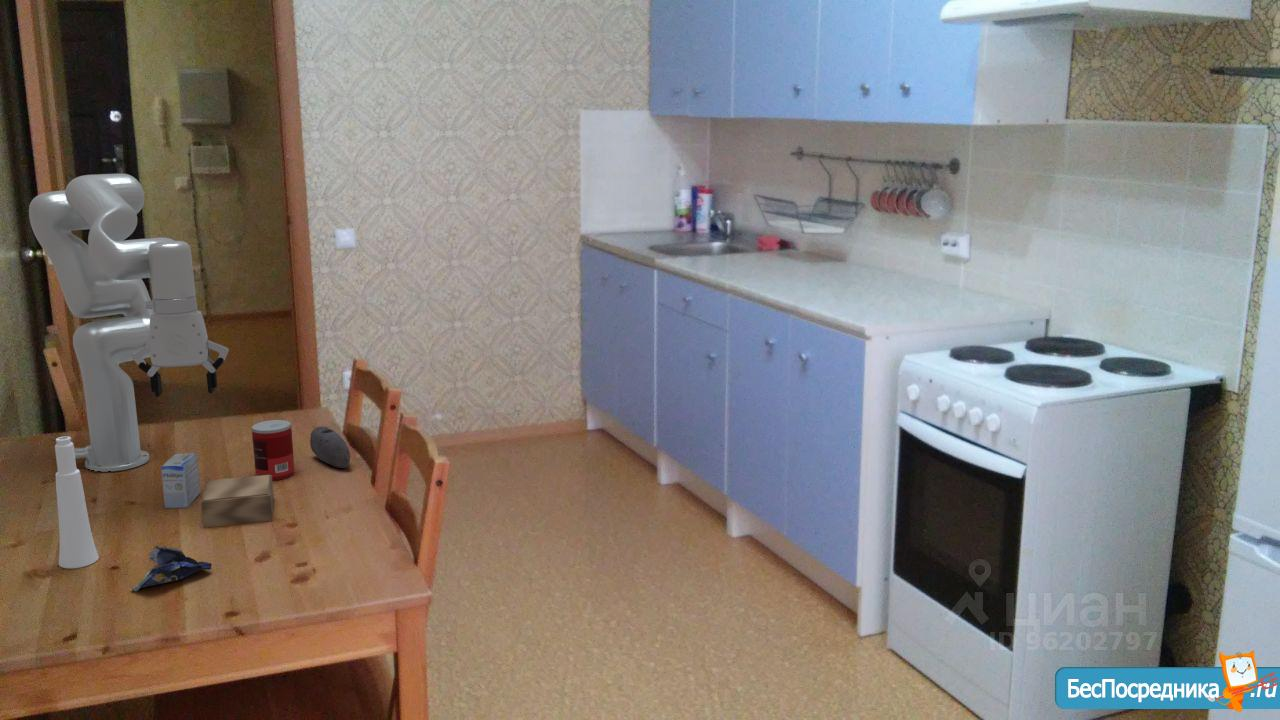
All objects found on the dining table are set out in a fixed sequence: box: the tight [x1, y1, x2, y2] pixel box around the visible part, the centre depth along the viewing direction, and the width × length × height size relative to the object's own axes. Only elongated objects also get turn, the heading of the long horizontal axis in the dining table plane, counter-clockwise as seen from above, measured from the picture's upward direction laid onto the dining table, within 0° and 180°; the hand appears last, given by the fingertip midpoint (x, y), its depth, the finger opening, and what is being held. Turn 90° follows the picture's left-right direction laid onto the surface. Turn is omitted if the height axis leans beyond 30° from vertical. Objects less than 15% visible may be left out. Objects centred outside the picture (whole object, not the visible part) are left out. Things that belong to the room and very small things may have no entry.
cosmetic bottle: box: [54, 436, 99, 570], centre depth 178 cm, size 6×6×22 cm
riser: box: [200, 475, 275, 529], centre depth 202 cm, size 12×12×5 cm
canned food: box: [251, 419, 295, 482], centre depth 223 cm, size 8×8×11 cm
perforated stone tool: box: [309, 426, 351, 469], centre depth 231 cm, size 15×5×7 cm, turn 37°
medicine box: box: [160, 453, 201, 509], centre depth 208 cm, size 8×4×9 cm, turn 5°
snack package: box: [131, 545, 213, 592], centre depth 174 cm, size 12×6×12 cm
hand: (185, 393), depth 206 cm, fingers open, 9 cm apart
